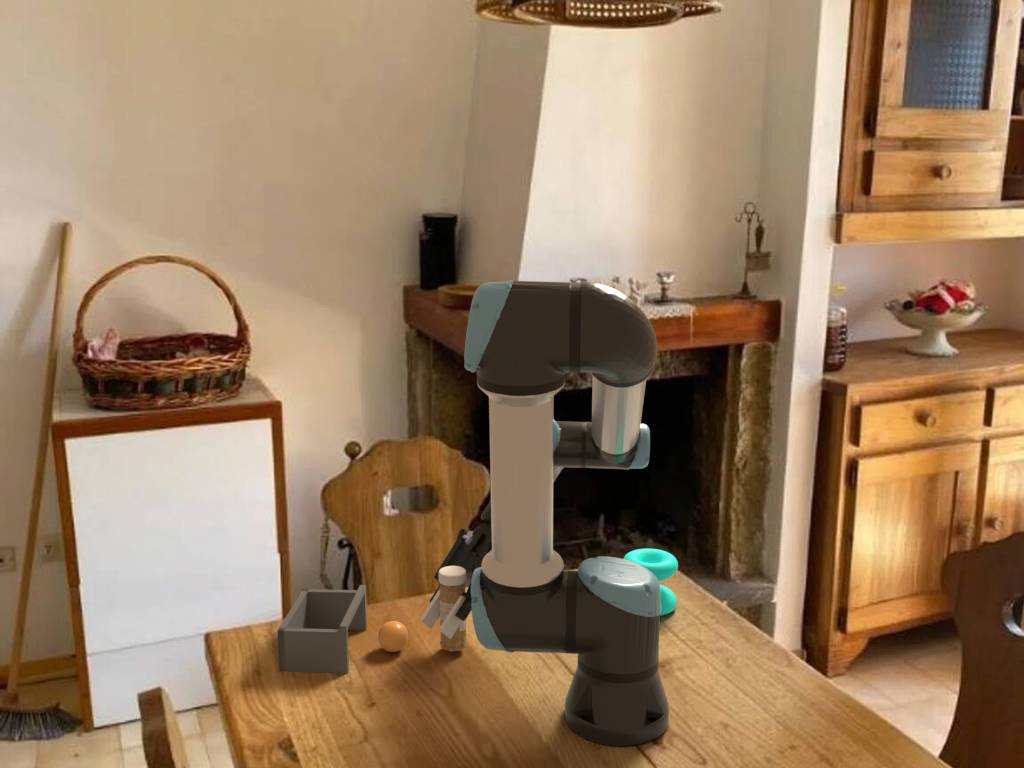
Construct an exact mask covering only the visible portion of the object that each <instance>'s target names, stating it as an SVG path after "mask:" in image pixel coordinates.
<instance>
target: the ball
mask: <svg viewBox="0 0 1024 768" xmlns="http://www.w3.org/2000/svg"><path fill="white" fill-rule="evenodd" d="M377 641H378V643H379V646H380V647H381V648H383V650H385V651H386V652H389V653H396V652H399V651H401V650H402V649H405V648H404V647H406V645H407V644H408V641H409V632H408V629H407V627H406V626H405V625H404V624H403V623H402V622H400V621H396V620H391V621H387V622H385V623H384V624H383V625H382V626H381V627H380V629H379V631H378V634H377Z"/></svg>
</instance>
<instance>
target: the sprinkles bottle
mask: <svg viewBox="0 0 1024 768" xmlns="http://www.w3.org/2000/svg"><path fill="white" fill-rule="evenodd" d="M466 583H467V573H466V570H465V569H464V568H463V567H459V566H447V567H443V568H441V569H440V570H439V583H438V585H439V584H440V616H439V628H440V627H441V625H442V624H443V622H444V621H445V619H446V617H447V616H448V614H449V613H450V611H451V609H452V608H453V606H454V605H455V603H456V602H457V600H458V598H459V597H460V596H463V592H465V593H466ZM463 597H464V596H463ZM464 598H466V597H464ZM467 644H468V641H467V619H466V620H464V621H462V622H461V624H460V625H459V627H458V628H457V630H456V632H455V633H454V635H453V636H452V638H451V639H450V638H448V637H447V636H445V635H444V634H443V633H441V632H440V641H439V645H440V648H441V649H443V650H445V651H448V652H458V651H461V650H464V649H465V648H466V647H467Z"/></svg>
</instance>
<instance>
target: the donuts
mask: <svg viewBox="0 0 1024 768" xmlns="http://www.w3.org/2000/svg"><path fill="white" fill-rule="evenodd" d="M623 559H626V560H629V561H632V562H635V563H637V564H640V565H641V566H643V567H645V568H647V569H648V570H650V571H651V572H652V573H653V574H654V575H655V576H656V578H657V579H658V581H659V582H660V581H665V580H667V579H670V578H672V577H673V576H674V575H675V574H676V573H677V571H678V569H679V563H678V559H677V558H676V557H675V556H674V555H673V554H672V553H670V552H668V551H666V550H662V549H657V548H637V549H633V550H632V551H629V552H627V553H626V554H625V556H624V557H623ZM660 601H661V605H662V612H661V613H660V617H662V616H665V615H668V614H670V613H672V612H673V611H674V610H675V608H676V607H677V596H676V595H675V593H674V592H673V591H672V590H671V589H670V588H668V587H667V586H665V585H662V584H660Z"/></svg>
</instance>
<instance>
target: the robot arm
mask: <svg viewBox="0 0 1024 768" xmlns="http://www.w3.org/2000/svg"><path fill="white" fill-rule="evenodd" d="M657 340H658V339H657V335H656V333H655V329H654V327H653V325H652V322H651V321H650V319H649V317H647V315H646V314H645V312H644V311H643V310H642V309H641V308H640V307H639V306H638V304H637V303H636V302H634V301H633V300H632V299H631V298H630V297H629V296H627V295H625V294H624V293H622V292H621V291H619V290H618V289H615V288H614V287H611V286H608V285H607V284H603V283H599V282H595V281H594V282H593V281H592V282H591V281H578V282H577V281H575V282H574V281H572V282H571V281H569V282H567V281H566V282H565V281H535V280H534V281H531V280H529V281H528V280H514V279H509V280H507V281H489V282H484V283H481V284H480V285H479V286H478V287H477V288H476V290H475V291H474V294H473V297H472V300H471V304H470V308H469V315H468V321H467V326H466V335H465V342H464V343H465V344H464V352H463V353H464V354H463V355H464V358H463V359H464V363H463V364H464V368H465V370H466V371H469V372H471V373H476V384H477V387H478V388H479V389H480V390H481V391H482V393H484V394H486V395H487V396H488V406H489V407H488V410H489V411H488V413H489V415H488V418H489V459H490V460H489V461H490V462H489V463H490V464H489V465H490V466H489V467H490V468H489V469H490V470H489V471H490V473H489V474H490V500H489V502H488V504H487V505H486V507H485V508H484V510H483V511H482V513H481V515H480V524H479V525H477V526H476V527H475V528H474V529H473V530H469V531H468V530H466V529H465V528H461V529H460V530H459V531H458V535H457V537H456V540H455V542H454V543H453V545H452V547H451V549H450V550H449V552H448V553H447V555H446V557H445V558H444V560H443V561H442V563H441V565H440V566H439V568H438V569H437V571H436V572H435V574H434V580H435V579H436V581H437V582H438V587H437V588H436V589H435V591H434V593H433V594H432V596H431V598H430V599H429V604H428V605H427V608H426V609H425V611H424V612H423V613H422V616H421V617H420V618H419V621H420V622H421V623H423V624H424V625H425V626H427V627H428V628H430V629H431V630H432V629H433V628H434V626H435V625H436V622H437V621H439V619H440V584H439V570H440V569H441V568H443V567H447V566H459V567H463V568H464V569H465V570H466V574H468V572H469V571H470V570H471V569H472V568H473V567H474V565H475V564H476V563H477V567H476V568H475V569H474V571H473V572H472V576H471V580H470V583H469V585H468V588H467V590H466V591H465V592H463V596H464V597H465V598H464V597H463V596H460V597H459V598H458V600H457V602H456V603H455V605H454V606H453V608H452V609H451V611H450V613H449V614H448V616H447V617H446V619H445V621H444V622H443V624H442V625H441V627H440V626H439V629H438V631H439V632H440V634H441V633H443V634H444V635H445V636H447V637H448V638H450V639H451V638H452V636H453V635H454V633H455V632H456V630H457V628H458V627H459V625H460V624H461V622H462V621H464V620H466V621H467V618H468V616H469V615H470V614H471V616H472V617H471V618H472V622H473V628H474V631H475V635H476V638H477V640H478V642H479V643H480V645H481V646H483V647H484V648H485V649H487V650H492V651H504V652H506V653H510V654H511V653H514V652H516V653H518V652H519V653H520V652H521V653H543V654H544V653H545V654H547V653H549V654H550V653H551V654H571V655H572V654H573V655H577V666H576V670H575V672H574V675H573V678H572V680H571V682H570V686H569V688H568V691H567V694H566V696H565V700H564V719H565V722H566V724H567V725H568V727H569V728H570V729H571V730H572V732H574V733H575V734H577V735H579V736H580V737H581V738H584V739H585V740H588V741H590V742H594V743H598V744H602V745H607V746H612V747H613V746H614V747H629V746H631V747H632V746H638V745H643V744H647V743H649V742H652V741H654V740H656V739H658V738H660V737H661V736H662V735H663V734H664V733H665V732H666V731H667V729H668V727H669V723H670V722H669V721H670V705H669V702H668V699H667V696H666V695H667V694H666V691H665V688H664V685H663V682H662V679H661V676H660V673H659V661H660V660H659V659H660V658H659V656H660V621H661V620H660V618H661V616H660V613H661V612H662V605H661V601H660V585H661V584H660V581H658V579H657V578H656V576H655V575H654V574H653V573H652V572H651V571H650V570H648V569H647V568H645V567H643V566H641V565H640V564H637V563H635V562H632V561H629V560H626V559H624V558H621V557H615V556H603V555H602V556H595V557H588V558H586V559H584V560H582V562H581V563H580V564H579V566H578V568H577V570H566V569H564V560H563V558H562V557H561V555H560V554H559V553H558V552H557V551H555V549H554V483H555V481H556V479H557V478H558V476H559V475H560V473H561V472H562V470H563V469H564V468H579V469H580V468H585V469H587V468H588V469H608V470H609V469H612V470H613V469H614V470H626V471H628V470H630V469H631V470H632V469H635V470H636V469H641V470H642V469H644V468H646V467H648V465H649V462H650V454H651V453H650V452H651V430H650V427H649V426H648V425H647V424H646V423H642V416H643V410H644V409H643V406H644V401H645V399H644V398H645V394H646V393H645V392H646V383H647V379H649V377H650V376H651V375H652V374H653V372H654V370H655V368H656V365H657V359H658V358H657V357H658V353H659V351H658V347H659V345H658V344H659V343H658V341H657ZM569 373H573V374H574V373H575V374H578V373H587V374H588V373H590V374H591V375H592V383H591V384H592V389H591V390H592V393H591V394H592V395H591V398H592V399H591V421H559V420H557V421H556V420H555V419H554V407H555V405H554V398H555V395H557V393H559V392H561V390H562V389H563V388H564V386H565V384H566V374H569Z"/></svg>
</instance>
